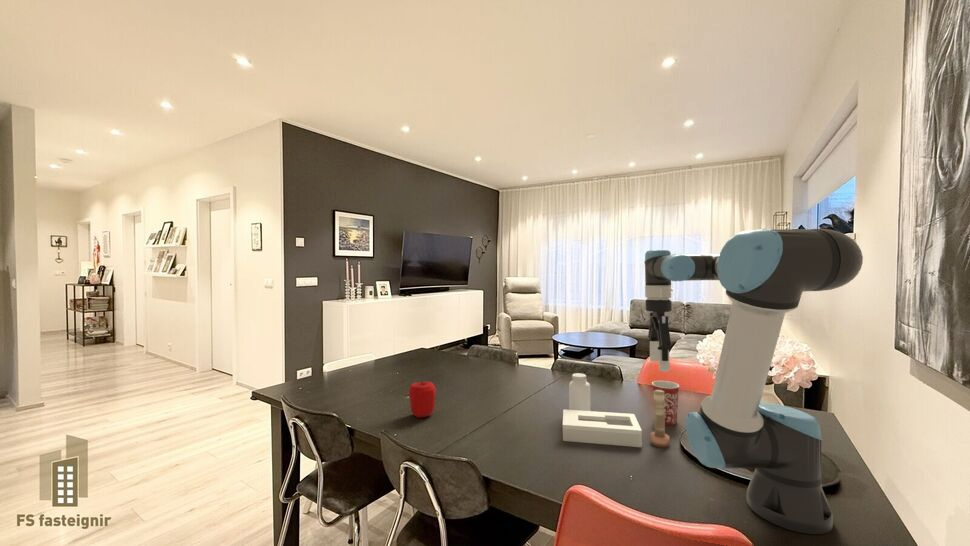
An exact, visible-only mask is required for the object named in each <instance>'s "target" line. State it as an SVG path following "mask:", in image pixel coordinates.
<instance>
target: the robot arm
mask: <svg viewBox="0 0 970 546" xmlns="http://www.w3.org/2000/svg"><path fill="white" fill-rule="evenodd" d="M644 254H645V255H644V261H643V262H644V281H645V285H644V289H645V291H644V296H645V298H646V299H645V311H647V312H649V324H648V326H649V327H648V336H647V337H648V340H649V361H650V362H658V371H659V372H667V373H669V372H670V350H672V342H671V335H670V333H671V332H670V327H669V326H670V325H669V316H668V315H666V314H665V313H670V312H672V310H673V309H672V307H673V306H672V304H673V303H672V300H671V298H672V292H673V291H674V288H673V287H672V282H683V281H687V282H688V281H719V283H720V285H721V286H722V288H724V289H725V295H726V296H727V298H728V299H729V300H730V301H731V307H730V312H729V317H728V320H727V326H726V329H725V333H724V338H723V343H722V347H721V351H720V356H719V360H718V365H717V369H716V373H715V378H714V382H713V387H712V392H711V394H710V395H708V396H705V397H704V398H703V399H702V401H701V404H700V408H699V411H691V412H688V413H687V414H686V417H685V420H684V421H685V424H684V425H685V432H686V433H685V434H686V437H687V439H688V444H689V445H690V448H691V450H692V452H693V454H694V456H695V457H696V458H697V460H698V461H699V462H700V463H701V464H702V465H703V466H705V467H708V468H710V469H711V468H712V469H720V470H725V469H754V471H753V474H752V477H751V479H750V481H749V484H748V487H747V488H746V503H747V505H748V507H749V508H750V510H752V511H753V512H754V513H755V514H756V515H757V516H759V517H760V518H762V519H764V520H765V521H768V522H769V523H771V524H774V525H776V526H778V527H780V528H784V529H785V530H789V531H793V532H797V533H800V534H806V535H809V534H810V535H823V534H827V533H829V532H831V531H832V530H833V528H834V526H833V525H834V522H833V521H834V517H833V513H832V510H831V508H830V504H829V503H828V499H827V497H826V494H825V492H824V490H823V487H822V441H823V437H822V433H821V424H820V422H819V420H818V419H817V418H816V417H815V416H812V415H811V414H809V413H807V412H804V411H802V410H799V409H796V408H793V407H790V406H786V405H783V404H777V403H772V402H766V401H763V402H761V401H762V397H763V394H764V393H763V392H764V389H765V387H766V383H767V379H768V376H769V373H770V369H771V365H772V361H773V358H774V356H775V350H776V347H777V345H778V344H777V343H778V341H779V337H780V333H781V330H782V326H783V322H784V319H785V316H786V313H789V312H791V311H794V310H796V309H798V307H799V304H800V300H801V297H802V294H803V292H823V291H830V290H835V289H838V288H840V287H844V286H845V285H847V284H849V283H850V282H852V281H853V280H854V279H855V278H856V277H857V276H858V274H859V273H860V272H861V269H862V266H863V263H864V262H863V260H864V258H863V257H864V256H863V252H862V250H861V248H860V246H859V244H858V243H857V242H856V241H855V240H854V239H853V238H852V237H850V236H849V235H847V234H846V233H842V232H841V231H837V230H834V229H828V228H811V229H810V228H809V229H807V228H806V229H805V228H804V229H803V228H802V229H801V228H800V229H799V228H798V229H797V228H796V229H795V228H794V229H793V228H792V229H791V228H790V229H789V228H788V229H787V228H785V229H784V228H782V229H779V228H778V229H777V228H776V229H774V228H771V229H770V228H760V229H754V230H743V231H740V232H738V233H736V234H734V236H732V237H730V238H729V239H728V240H727V241H726V243H725V244H724V245H723V247H722V249H721V250H720V253H717V254H714V253H713V254H681V253H677V254H676V253H674V254H671V251H670V250H669V249H653V250H646V252H645V253H644Z"/></svg>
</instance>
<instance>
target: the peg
mask: <svg viewBox="0 0 970 546" xmlns="http://www.w3.org/2000/svg"><path fill="white" fill-rule="evenodd" d="M653 410H654V411H653V412H654V413H653V417H654V419H653V420H654V431H652V432H650V433H649V442H650V444H651V445H652V446H655V447H657V448H669V447H670V444H671V443H670V439H671V438H670V435H668V434H667V433H666V425H665V400H664V391H662V390H654V400H653Z"/></svg>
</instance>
